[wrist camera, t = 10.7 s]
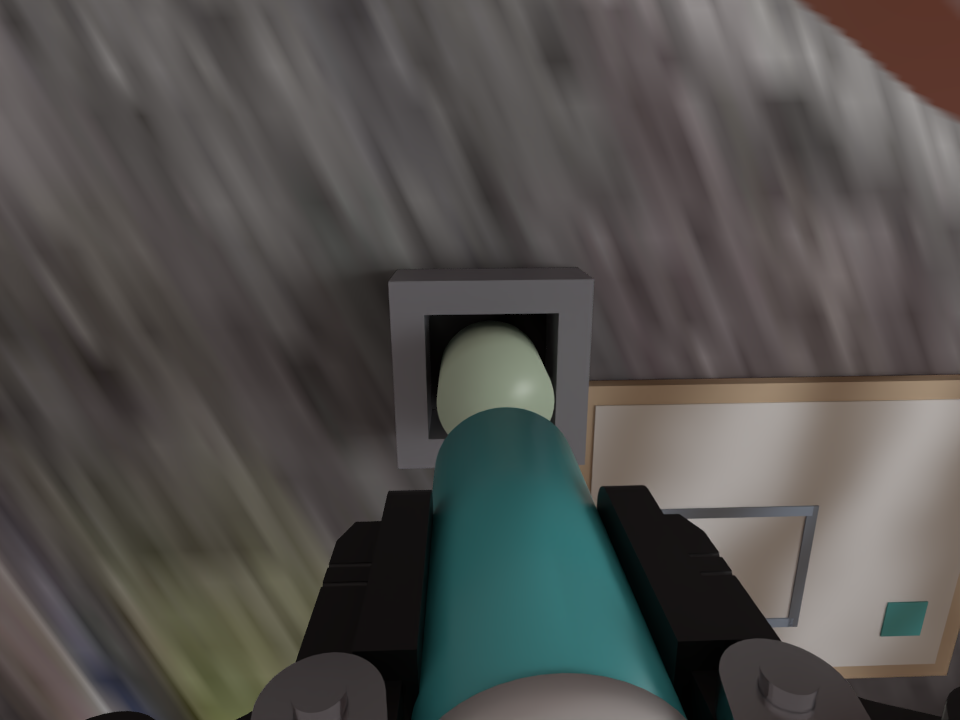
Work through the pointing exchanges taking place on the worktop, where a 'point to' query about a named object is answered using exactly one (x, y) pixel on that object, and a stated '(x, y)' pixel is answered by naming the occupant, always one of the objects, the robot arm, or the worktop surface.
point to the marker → (529, 588)
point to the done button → (491, 374)
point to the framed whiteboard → (808, 500)
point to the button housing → (487, 293)
